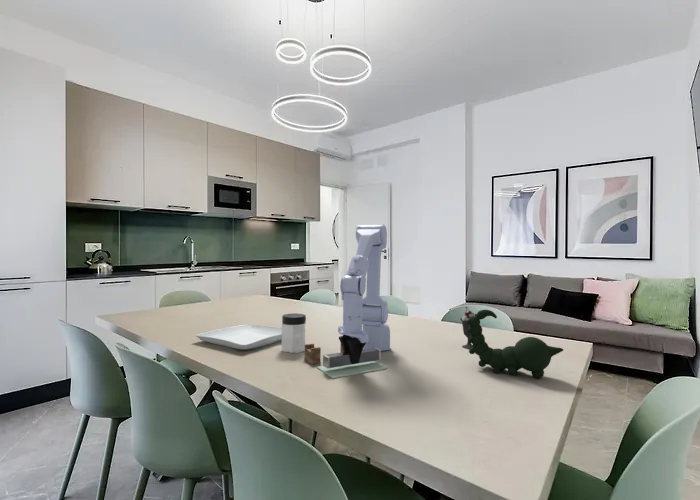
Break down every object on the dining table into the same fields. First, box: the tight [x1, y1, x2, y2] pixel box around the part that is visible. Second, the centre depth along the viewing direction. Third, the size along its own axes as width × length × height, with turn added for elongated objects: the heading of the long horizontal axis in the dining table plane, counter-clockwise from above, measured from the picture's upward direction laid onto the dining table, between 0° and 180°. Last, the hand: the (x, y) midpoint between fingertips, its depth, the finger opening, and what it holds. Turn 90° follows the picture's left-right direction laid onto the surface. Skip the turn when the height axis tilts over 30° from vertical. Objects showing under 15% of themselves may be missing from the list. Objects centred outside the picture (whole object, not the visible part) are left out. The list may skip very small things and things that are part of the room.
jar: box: [281, 313, 307, 354], centre depth 128 cm, size 9×8×12 cm
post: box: [303, 343, 322, 365], centre depth 115 cm, size 3×6×5 cm, turn 30°
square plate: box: [194, 323, 282, 351], centre depth 140 cm, size 27×27×4 cm
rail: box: [322, 348, 382, 369], centre depth 109 cm, size 18×3×3 cm, turn 120°
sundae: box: [459, 306, 477, 350], centre depth 134 cm, size 7×7×15 cm
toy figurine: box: [467, 309, 564, 380], centre depth 106 cm, size 9×19×25 cm
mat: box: [316, 361, 388, 379], centre depth 109 cm, size 18×10×1 cm, turn 120°
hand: (352, 361), depth 109 cm, fingers closed on rail, 3 cm apart
